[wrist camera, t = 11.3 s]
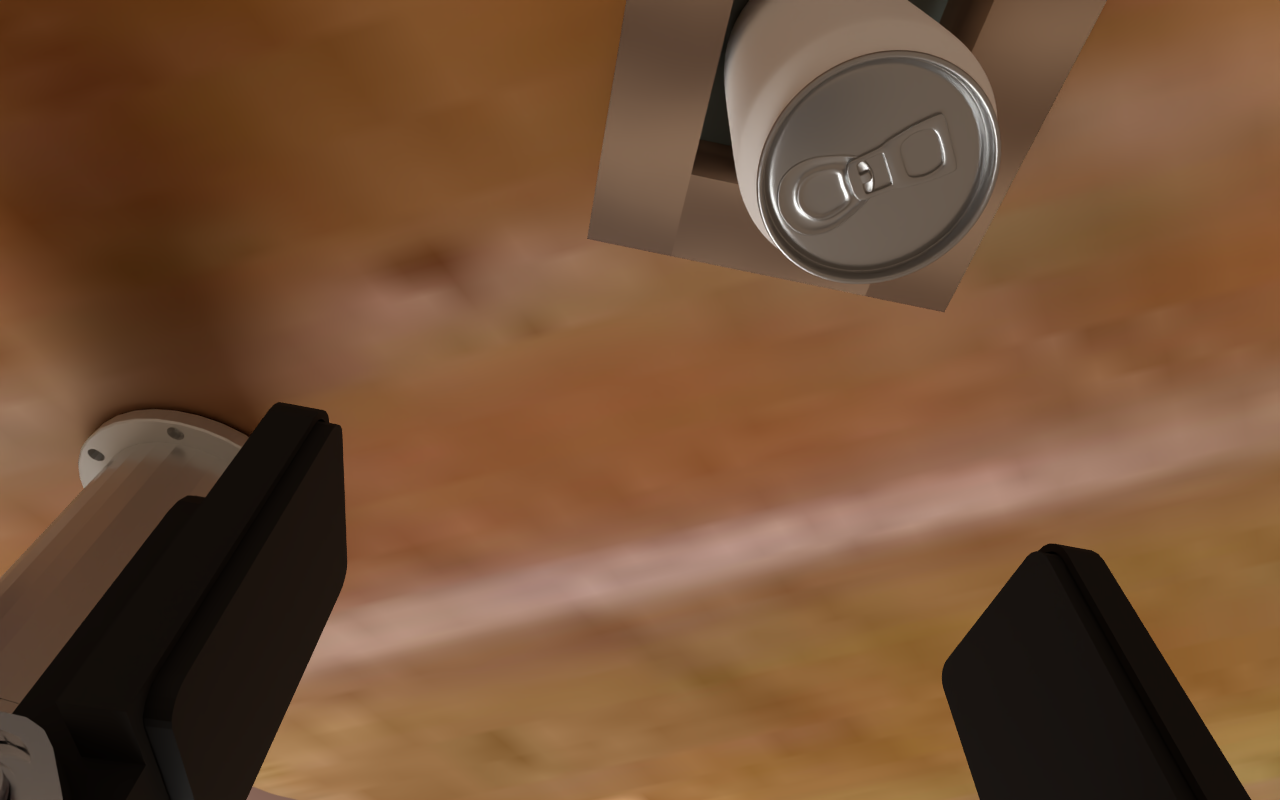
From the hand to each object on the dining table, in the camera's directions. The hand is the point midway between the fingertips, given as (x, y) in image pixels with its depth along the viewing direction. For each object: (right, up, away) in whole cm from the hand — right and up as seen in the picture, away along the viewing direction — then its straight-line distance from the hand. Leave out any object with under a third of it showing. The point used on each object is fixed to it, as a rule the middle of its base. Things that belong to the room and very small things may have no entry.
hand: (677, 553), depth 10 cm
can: (+6, +15, +17) cm, 23 cm away
